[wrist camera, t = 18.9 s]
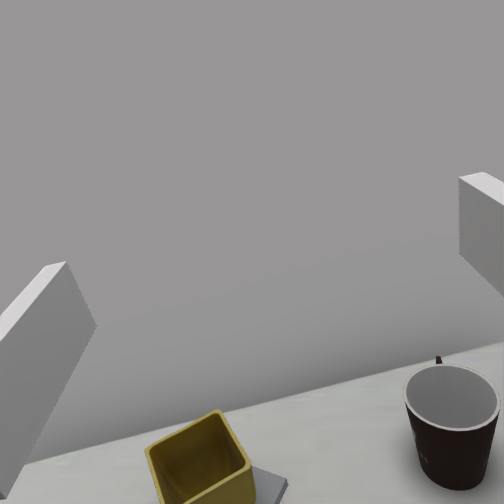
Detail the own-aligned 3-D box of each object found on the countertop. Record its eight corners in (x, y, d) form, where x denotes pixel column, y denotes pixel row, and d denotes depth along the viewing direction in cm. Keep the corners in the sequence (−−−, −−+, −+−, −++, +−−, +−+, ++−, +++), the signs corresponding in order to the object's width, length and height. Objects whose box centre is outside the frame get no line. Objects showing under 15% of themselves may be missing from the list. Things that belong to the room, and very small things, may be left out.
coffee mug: (485, 517, 41) (487, 445, 36) (396, 476, 46) (389, 410, 42) (511, 427, 48) (515, 359, 44) (432, 401, 54) (429, 338, 49)
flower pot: (192, 575, 41) (163, 517, 37) (169, 501, 48) (142, 447, 44) (272, 523, 43) (252, 465, 40) (238, 461, 51) (219, 406, 47)
